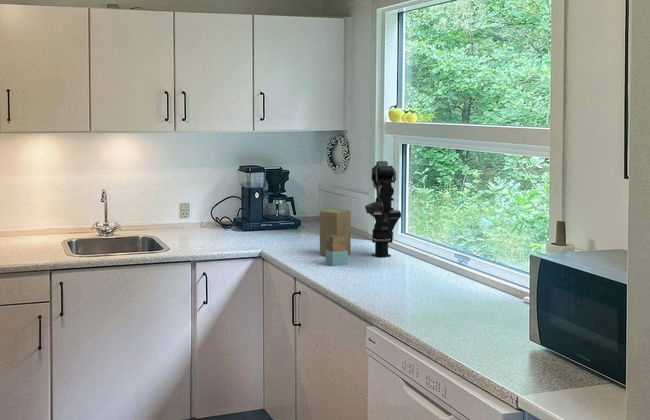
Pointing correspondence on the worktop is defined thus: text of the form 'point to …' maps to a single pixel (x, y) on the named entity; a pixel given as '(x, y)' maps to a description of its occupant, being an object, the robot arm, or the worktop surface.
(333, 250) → the walnut cube
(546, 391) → the worktop surface
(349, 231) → the wooden block
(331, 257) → the teal block
